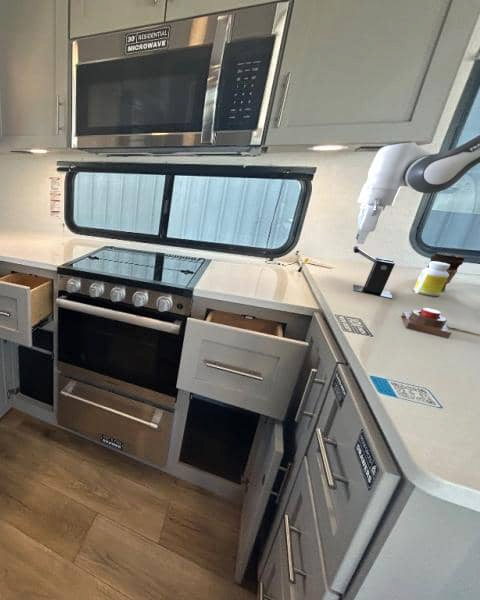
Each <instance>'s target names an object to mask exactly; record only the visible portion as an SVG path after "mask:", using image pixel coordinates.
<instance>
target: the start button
mask: <svg viewBox="0 0 480 600" xmlns="http://www.w3.org/2000/svg"><path fill="white" fill-rule="evenodd" d="M420 314H421V315H423V316H426V317H429V318H434V319H438V318H439V316H441V314H442V312H441V311H439V310H437V309H434V308H430V307H429V308H428V307H422V308H421V312H420Z"/></svg>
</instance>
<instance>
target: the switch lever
mask: <svg viewBox="0 0 480 600" xmlns="http://www.w3.org/2000/svg"><path fill="white" fill-rule="evenodd" d="M352 249H353V253H355V254H359V255H361V256H362V257H364V258H365V259H367V260H369V261H370V262H372V263H373V264H374V263H375V264H376V261H377V260H376V257H373V256H371V255H370V254H368V253H367V252H365V251H363V250H362V249H360V247H359V246H358V245H356V246H354V247H353V248H352ZM381 261H383V260H381Z"/></svg>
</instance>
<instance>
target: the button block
mask: <svg viewBox="0 0 480 600" xmlns="http://www.w3.org/2000/svg"><path fill="white" fill-rule="evenodd" d="M421 310H422V309H421ZM421 310H420V309H413V310H412V311H411V312H409V311H403V312H402V315H400V316H401V319H402V323H403V324H404V327H405V329H406V330H407V329H408V330H411V331H414V332H419V333H423V334H427V335H432V336H435V337H440V338H443V339H449V338H450V336H452V331H451V330H450V329H449V327H448V325H447V324H446V323H447V321H448V320H447V318H446V317H445V316H442V315H440V316H439V318H438V319H434V318H429V317H426V316H423V315H421V314H420V312H421Z"/></svg>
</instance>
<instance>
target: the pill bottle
mask: <svg viewBox="0 0 480 600" xmlns="http://www.w3.org/2000/svg"><path fill="white" fill-rule="evenodd" d="M429 262H430V261H429ZM428 265H429V268H428V267H426V268H423V269H422V270H421V272H420V274H419V276H418V278H417V280H416V283H415V285H414V286H413V288H412V292H413V293H415V294H418V295H421V296H426V297H432V298H438V297H439V296H440V294H441V293H442V291H441V290H442V289H443V287H444V285H445V283H446V281H447V279H448V277H449V273H448V272H446V270H447V269H448V268H449V266H450V264H447V263H442V262H436V261H431V262H430V263H428Z"/></svg>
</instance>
